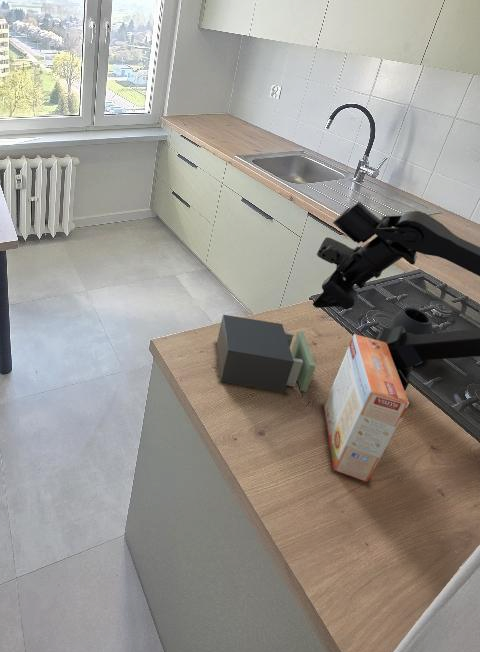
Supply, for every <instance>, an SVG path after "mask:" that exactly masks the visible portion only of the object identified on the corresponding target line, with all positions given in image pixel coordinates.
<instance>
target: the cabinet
mask: <svg viewBox="0 0 480 652" xmlns="http://www.w3.org/2000/svg"><path fill="white" fill-rule="evenodd" d="M284 331H285V328H284V325H283V323H278V322H273V321H266V320H260V319H254V318H247V317H241V316H234V315H229V314H222V317H221V322H220V327H219V331H218V337H217V341H216V351H217V360H218V361H217V362H218V369H219V378H220V379H219V380H220V382H223V383H227V384H233V385H238V386H245V387H250V388H254V389H255V388H256V389H260V390H267V391H273V392H277V393H283V394H284V392H285V390H286V386H287V385H286V384H287V381H288V378H289V375H290V372H291V369H292V366H293V363H294V360H293V357H292V354H291V351H292V350H291V346H290V347H289V344H288V341H287V338H286V335H285V332H284Z"/></svg>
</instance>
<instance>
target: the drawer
mask: <svg viewBox="0 0 480 652" xmlns="http://www.w3.org/2000/svg"><path fill="white" fill-rule="evenodd" d="M284 332H285V335H286V338H287V341H288V344H289V347H290V348H291V344H292V341H293V338H294V332H291V331H287V330H284ZM309 346H310V345H309V344H308V340H307V338H306V335H305V333H304V331H300V330H297V333H296V336H295V339H294V342H293V345H292V348H291V350H290V351H291V354H292V357H293V360H294V363H293V366H292V369H291V372H290V375H289V378H288V381H287V384H286V386H290V387H296V384H297V382H298V385H299V386H298V387H299V389H300V391H301V392H308V389H309V386H310V385H311V380H312V378H313V376H314V372H315V370H316V368H317V365H316V363H315V360H314V357H313V355H312V352H311V349H310V347H309Z"/></svg>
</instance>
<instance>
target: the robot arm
mask: <svg viewBox="0 0 480 652" xmlns="http://www.w3.org/2000/svg"><path fill="white" fill-rule="evenodd" d="M332 224H333V225H334V226H336V228H338V229H339V230H340V231H341V232H342V233H343V234H345V235H346V236H347V237H348V238H349V239H350V240H351V241H353V242H354V243H357V244H360V243H364V245H363V246H362V245H359V246H356V247H354V248H352V247H350V246H348V245H347V244H344V243H343V242H341V241H338V240H336V239H334V238H332V237H327V236H326V237H325V238H324V240H323V241H322V242H321V244H320V247H319V248H318V251H317V253H316V256H317V257H318V258H320V259H321V260H323V261H325V262H327V263H329V264H334V265H335V266H336V267H335V270H334V271H333V272H332V274H331V275H330V276H328V277H327V278H326V279H325V280H324V281H323V282H322V284H321V289H322V292H321V293H320V295H318V296H317V298H316V299H315V300H314V301H313V303H312V306H314V307H315V308H316V309H318V308H319V309H320V308H342V309H344V310H349V309H350V308H352V307H354V306H355V305H356V302H357V299H358V291H357V290H356V288H354V287H355V285H356V286H357V288H359V289H363V288H365V286H366V284H367V282H368V281H370V280H371V279H374V278H375V279H378V278H379V277H381V275H382V273H383V271H385V270H386V269H388V268H390V267H391V266H392V265H393V264H395V263H397V262H398V261H399V260H401V259H404V260H405V261H406V262H408V263H409V265H412V266H414V265H415V264H416V261H417V259H418V254H417V253H419V254H422V255H425V256H426V255H427V256H432V257H438V258H441V259H444V260H446V261H448V262H450V263H452V264H454V265H456V266H458V267H460V268H462V269H464V270H466V271H468V272H470V273H472V274H474V275H476V276H478V277H480V246H478V245H476V244H474V243H472V242H469V241H467V240H466V239H463V238H461V237H459V236H457V235H456V234H455V233H453V232H452V231H451V230H449V228H447V227H446V226H445V225H444V224H443V223H441V222H440V221H438V220H437V219H435V218H434V217H433V216H430V215H429V214H427V213H426V212H423V211H420V210H413V211H408V212H405V213H404V214H402V215H382V217H381V218H379V217H377V216H376V215H375V214H374V213H373V212H371V211H370V210H369V209H368V208H367V207H366V206H365V205H364V204H363V202H360V201H358V202H356V203H355V204H353V205H352V206H350V207H348V208H347V209H345V210H344V211H343V212H342V213H341V214H340V215H338V216H337V218H335V219H334V220H333V221H332ZM375 235H376V236H375ZM374 236H375V237H374ZM372 237H373V238H372ZM371 238H372V239H371ZM370 239H371V240H370ZM368 240H370V241H369V242H367V241H368ZM366 242H367V243H366ZM374 339H375V340H379V341H383V342H386V343H387V345H388V348H389V351H390V354H391V356H392V359H393V362H394V365H395V367H396V370H397V373H398V375H399V378H400V381H401V383H402V386H403V388H404V391H405V392H406V390H407V389H408V386H409V384H410V381H409V380H410V377H411V373H412V370H413V366H416V365H415V364H417V363H419V362H421V361H423V362H424V361H433V360H448V359H449V360H450V359H463V358H464V359H465V358H478V357H480V328H479V327H477V328H470V329H461V330H452V331H441V332H432V334H422V335H414V334H411V333H408V332H406V331H405V329H404V327H403V326H398V327H395V328H391V327H386V326H384V327H383V328H382V330H380V331H378V332H377V334H376V335H375V338H374Z"/></svg>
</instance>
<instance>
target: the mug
mask: <svg viewBox="0 0 480 652" xmlns="http://www.w3.org/2000/svg"><path fill="white" fill-rule="evenodd" d="M432 323H433V321H432V318H431V316H430V315H429V314H427V313H426V312H424V311H423V310H421V309H418V308H416V307H411V306H406V307H404V308H403V309H402V310H399V311H397V312H396V313H395V315H394V317H393V319H392V321H391V325H390V328H395V327H398V326H403V327H404V329H405V331H406V332H408V333H411V334H414V335H422V334H432V333H434V327H433V324H432ZM423 362H424V361H421V362H419V363H417V364H415V365H414V366H418V365H422V363H423Z"/></svg>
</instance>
